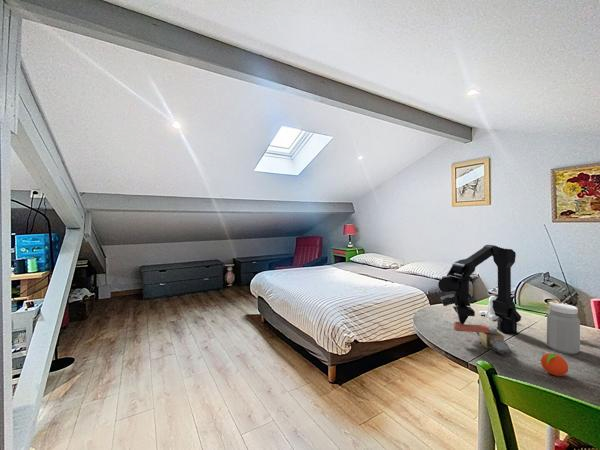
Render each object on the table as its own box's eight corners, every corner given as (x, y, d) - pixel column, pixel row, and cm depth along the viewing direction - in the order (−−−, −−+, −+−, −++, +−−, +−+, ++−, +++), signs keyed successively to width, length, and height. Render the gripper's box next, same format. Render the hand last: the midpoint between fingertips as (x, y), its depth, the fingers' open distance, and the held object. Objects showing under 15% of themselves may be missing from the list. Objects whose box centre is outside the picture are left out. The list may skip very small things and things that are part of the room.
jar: (541, 346, 113) (542, 304, 113) (554, 342, 117) (554, 301, 117) (572, 357, 104) (573, 311, 104) (584, 352, 108) (585, 307, 108)
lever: (493, 330, 116) (493, 323, 116) (498, 334, 112) (499, 327, 112) (452, 328, 119) (452, 321, 119) (456, 331, 115) (456, 324, 115)
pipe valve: (472, 334, 125) (472, 323, 125) (487, 335, 124) (487, 324, 124) (495, 356, 105) (495, 342, 105) (513, 358, 104) (513, 344, 104)
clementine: (559, 383, 88) (560, 361, 88) (534, 372, 95) (534, 352, 94) (572, 377, 91) (572, 356, 91) (547, 367, 98) (547, 347, 98)
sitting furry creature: (477, 314, 151) (477, 293, 151) (491, 313, 152) (491, 292, 152) (491, 320, 142) (491, 298, 141) (506, 320, 143) (506, 297, 142)
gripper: (438, 284, 132) (438, 315, 133) (444, 294, 115) (444, 330, 115) (464, 286, 128) (464, 318, 129) (475, 296, 111) (474, 334, 111)
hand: (461, 324), depth 121 cm, fingers closed
